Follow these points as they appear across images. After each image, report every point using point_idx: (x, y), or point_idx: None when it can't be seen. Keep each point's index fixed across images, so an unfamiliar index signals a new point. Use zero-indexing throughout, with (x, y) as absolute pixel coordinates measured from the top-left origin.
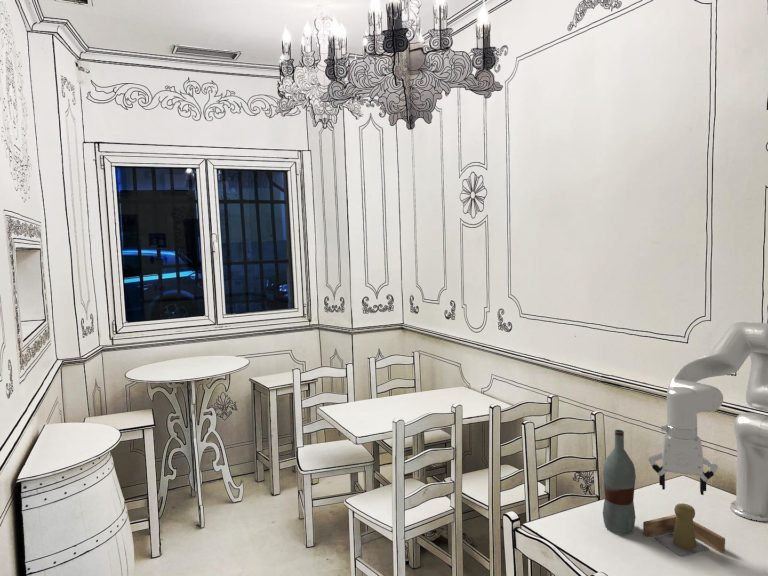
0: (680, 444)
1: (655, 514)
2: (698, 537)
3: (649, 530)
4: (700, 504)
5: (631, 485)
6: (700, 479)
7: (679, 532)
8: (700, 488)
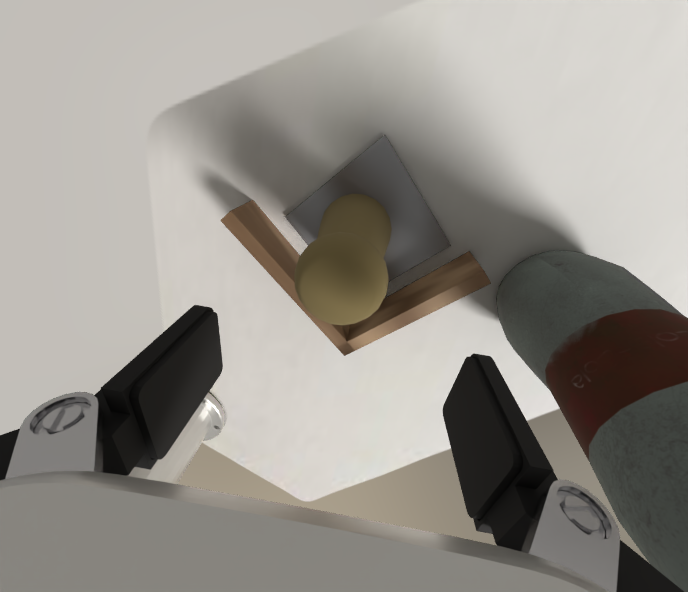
0: None
1: (398, 377)
2: None
3: (460, 266)
4: (284, 425)
5: (682, 406)
6: (148, 432)
7: (374, 221)
8: (197, 353)
